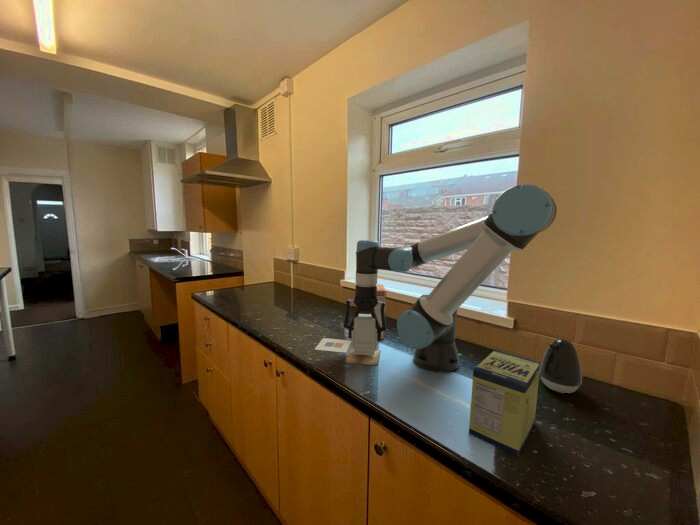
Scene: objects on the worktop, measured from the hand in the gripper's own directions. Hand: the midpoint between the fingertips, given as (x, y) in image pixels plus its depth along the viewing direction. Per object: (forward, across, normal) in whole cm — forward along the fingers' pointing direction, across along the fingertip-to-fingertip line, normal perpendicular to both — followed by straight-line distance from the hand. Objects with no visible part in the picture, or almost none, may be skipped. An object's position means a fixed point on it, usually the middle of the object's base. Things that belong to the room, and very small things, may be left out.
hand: (364, 348), depth 107 cm
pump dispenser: (+4, -59, +8) cm, 60 cm away
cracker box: (+4, -2, -25) cm, 25 cm away
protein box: (+4, -37, +31) cm, 48 cm away
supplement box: (+1, 0, 0) cm, 1 cm away
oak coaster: (+3, 0, 0) cm, 3 cm away
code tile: (+3, +13, -8) cm, 16 cm away
